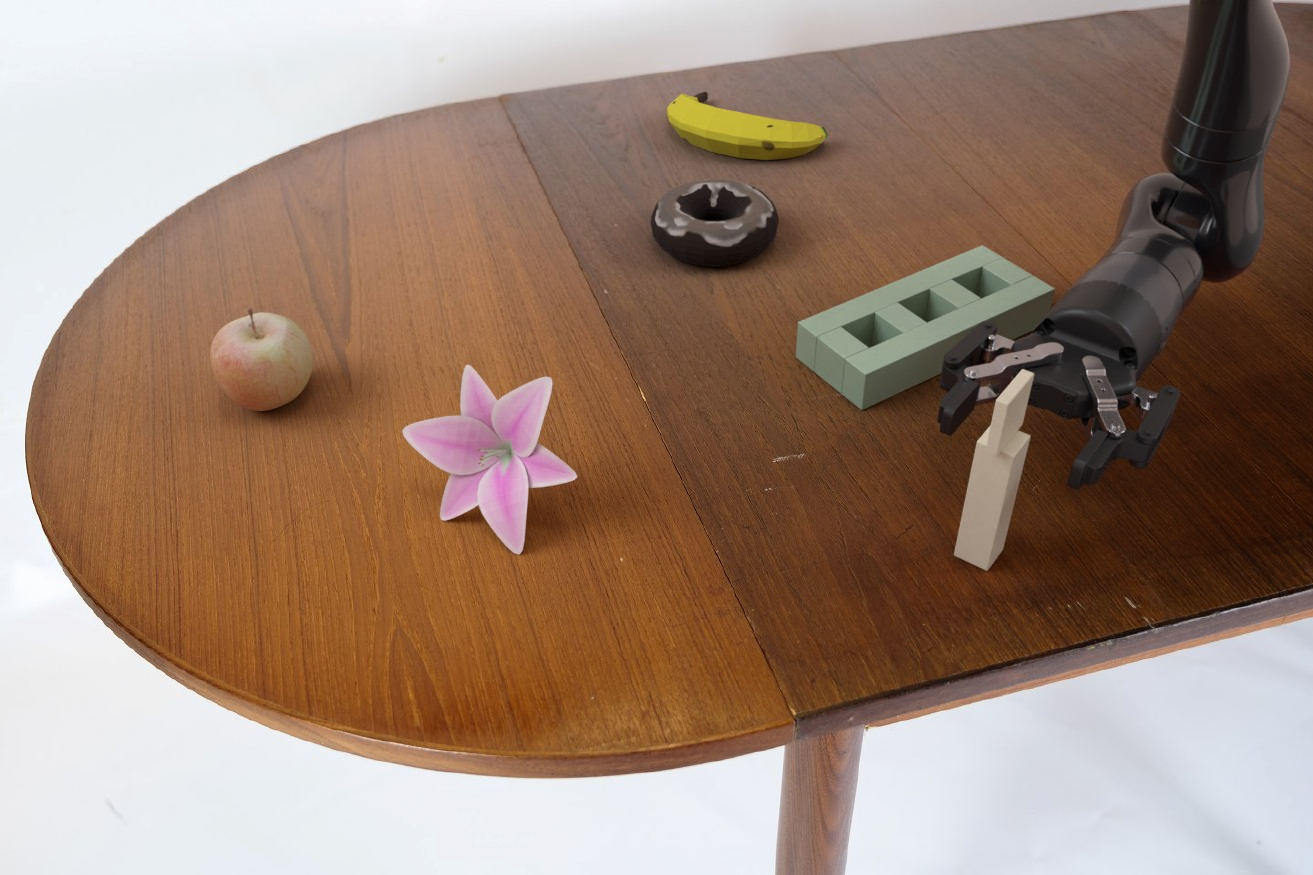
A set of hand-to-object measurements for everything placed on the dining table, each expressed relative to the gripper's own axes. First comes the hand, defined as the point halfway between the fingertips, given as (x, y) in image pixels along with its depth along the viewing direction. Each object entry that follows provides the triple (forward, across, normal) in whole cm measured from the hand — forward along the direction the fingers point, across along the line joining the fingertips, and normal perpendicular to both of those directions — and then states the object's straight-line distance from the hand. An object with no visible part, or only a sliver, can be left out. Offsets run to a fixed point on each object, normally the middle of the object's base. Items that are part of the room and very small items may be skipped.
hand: (1008, 450), depth 70 cm
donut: (-20, -37, +8) cm, 43 cm away
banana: (-40, -47, +8) cm, 63 cm away
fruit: (+19, -52, +8) cm, 56 cm away
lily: (+16, -29, +8) cm, 34 cm away
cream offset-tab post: (+1, 0, +8) cm, 8 cm away
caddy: (-18, -14, +8) cm, 24 cm away
